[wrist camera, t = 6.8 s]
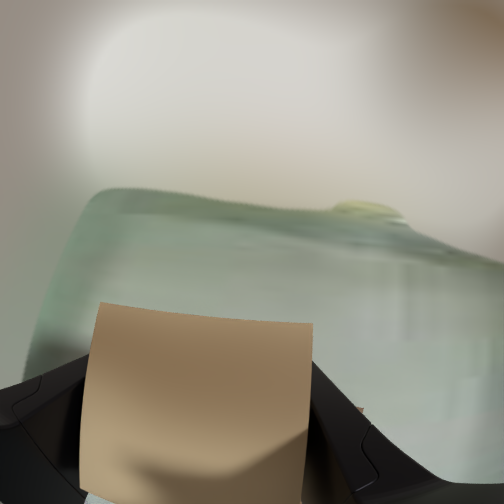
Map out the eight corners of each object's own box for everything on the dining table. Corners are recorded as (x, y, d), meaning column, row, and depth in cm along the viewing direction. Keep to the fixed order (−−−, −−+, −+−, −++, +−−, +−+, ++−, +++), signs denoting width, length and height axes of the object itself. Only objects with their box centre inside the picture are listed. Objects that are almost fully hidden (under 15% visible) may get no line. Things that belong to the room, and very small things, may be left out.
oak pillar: (271, 452, 12) (295, 532, 3) (177, 441, 12) (80, 488, 4) (278, 365, 14) (312, 323, 6) (186, 356, 14) (100, 301, 6)
